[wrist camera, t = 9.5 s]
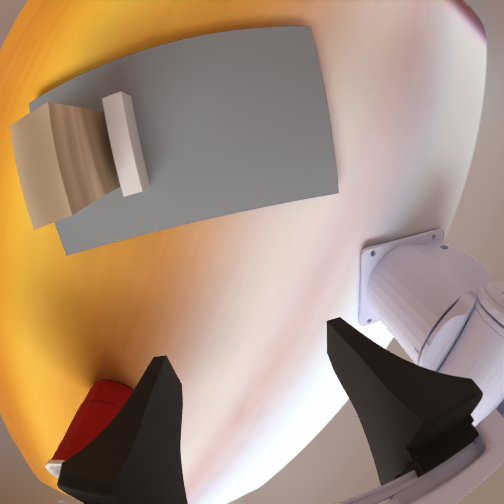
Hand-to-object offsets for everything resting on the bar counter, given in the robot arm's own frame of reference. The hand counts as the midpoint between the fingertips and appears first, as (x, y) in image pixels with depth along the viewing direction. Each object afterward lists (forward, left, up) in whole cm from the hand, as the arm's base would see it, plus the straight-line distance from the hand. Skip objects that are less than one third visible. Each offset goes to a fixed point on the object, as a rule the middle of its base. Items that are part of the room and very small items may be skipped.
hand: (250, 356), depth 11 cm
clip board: (+2, -10, -9) cm, 14 cm away
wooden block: (+7, -10, -8) cm, 15 cm away
